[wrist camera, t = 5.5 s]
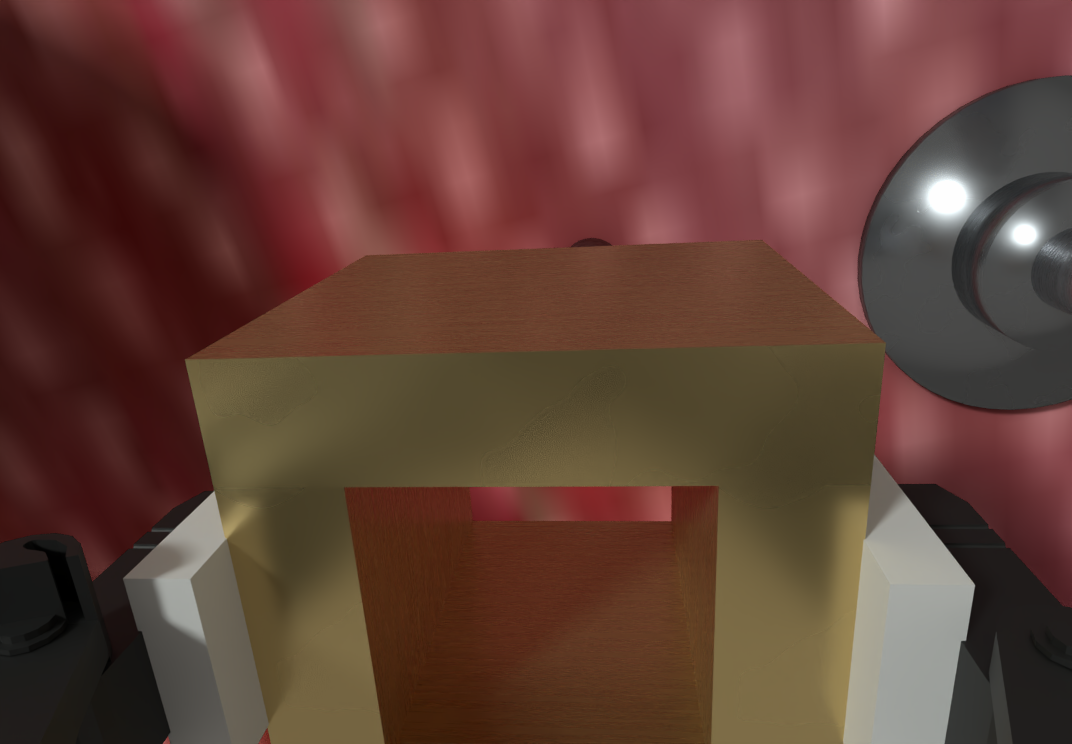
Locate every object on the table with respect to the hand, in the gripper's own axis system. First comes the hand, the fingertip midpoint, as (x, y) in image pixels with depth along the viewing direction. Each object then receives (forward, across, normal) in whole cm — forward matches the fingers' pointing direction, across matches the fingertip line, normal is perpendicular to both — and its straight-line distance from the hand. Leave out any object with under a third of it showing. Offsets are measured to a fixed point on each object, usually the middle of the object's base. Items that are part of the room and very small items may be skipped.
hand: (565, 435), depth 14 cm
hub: (+16, +16, 0) cm, 23 cm away
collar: (0, 0, 0) cm, 0 cm away
